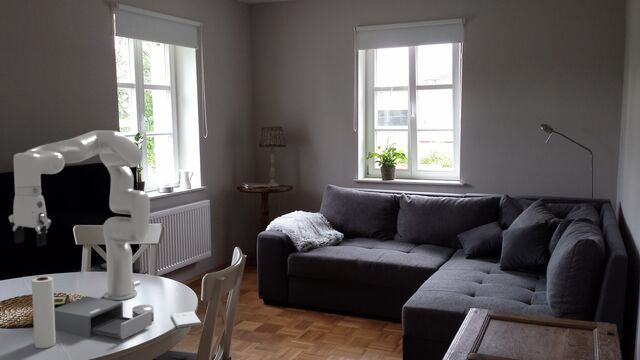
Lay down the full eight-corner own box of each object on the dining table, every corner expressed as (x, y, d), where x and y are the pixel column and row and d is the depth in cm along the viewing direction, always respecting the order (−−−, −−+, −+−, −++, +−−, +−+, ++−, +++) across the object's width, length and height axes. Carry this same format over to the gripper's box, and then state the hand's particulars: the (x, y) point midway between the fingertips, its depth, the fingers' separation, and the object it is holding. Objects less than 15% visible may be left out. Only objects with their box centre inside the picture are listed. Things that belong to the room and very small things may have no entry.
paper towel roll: (53, 348, 182) (50, 280, 180) (32, 349, 181) (29, 281, 179) (58, 339, 189) (56, 274, 187) (38, 340, 188) (35, 275, 186)
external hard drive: (177, 329, 201) (171, 317, 212) (201, 326, 204) (193, 314, 215) (177, 325, 201) (170, 313, 212) (201, 321, 204) (193, 310, 215)
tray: (112, 317, 206) (112, 304, 206) (151, 324, 200) (151, 310, 200) (82, 331, 194) (81, 316, 193) (123, 338, 187) (123, 324, 187)
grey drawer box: (87, 315, 212) (86, 295, 211) (123, 321, 206) (122, 301, 205) (51, 330, 197) (51, 309, 197) (89, 337, 191) (88, 315, 191)
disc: (141, 308, 209) (141, 303, 209) (157, 311, 207) (157, 306, 207) (128, 314, 203) (127, 309, 203) (144, 317, 200) (144, 312, 200)
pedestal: (142, 319, 208) (141, 309, 208) (153, 321, 207) (153, 311, 206) (132, 324, 204) (132, 314, 204) (144, 326, 202) (144, 316, 202)
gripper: (57, 191, 189) (59, 244, 191) (18, 188, 196) (21, 239, 198) (38, 194, 182) (40, 249, 184) (-2, 191, 189) (1, 243, 191)
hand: (30, 244), depth 191 cm, fingers open, 9 cm apart
